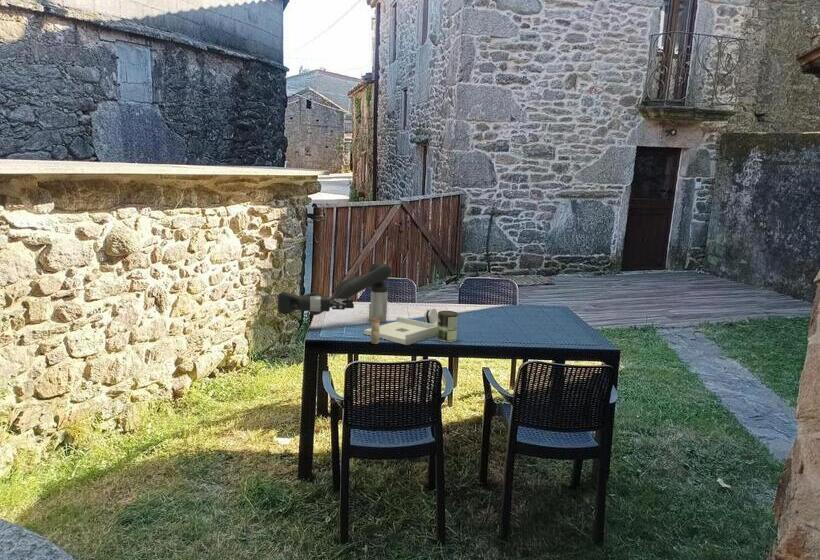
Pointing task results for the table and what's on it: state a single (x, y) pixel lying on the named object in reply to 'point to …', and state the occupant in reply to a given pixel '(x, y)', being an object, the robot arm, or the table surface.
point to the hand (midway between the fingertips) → (353, 304)
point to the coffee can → (447, 326)
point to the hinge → (431, 316)
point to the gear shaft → (375, 330)
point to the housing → (406, 331)
